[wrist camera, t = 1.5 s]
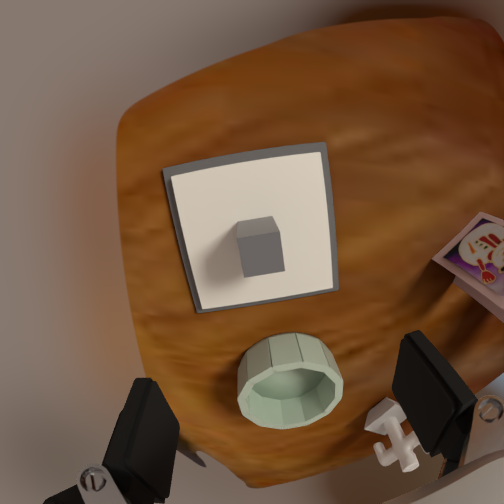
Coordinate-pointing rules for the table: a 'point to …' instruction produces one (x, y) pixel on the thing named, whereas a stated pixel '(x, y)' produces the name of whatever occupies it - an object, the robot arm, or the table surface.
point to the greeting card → (478, 261)
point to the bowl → (288, 381)
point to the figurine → (392, 435)
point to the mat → (244, 158)
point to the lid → (256, 229)
